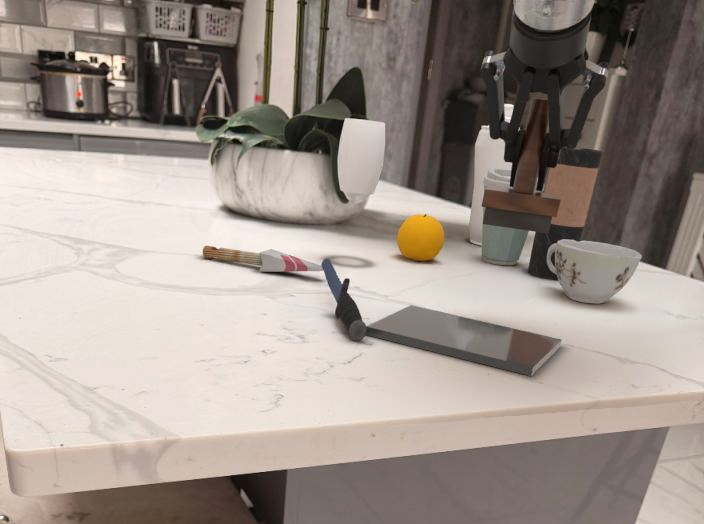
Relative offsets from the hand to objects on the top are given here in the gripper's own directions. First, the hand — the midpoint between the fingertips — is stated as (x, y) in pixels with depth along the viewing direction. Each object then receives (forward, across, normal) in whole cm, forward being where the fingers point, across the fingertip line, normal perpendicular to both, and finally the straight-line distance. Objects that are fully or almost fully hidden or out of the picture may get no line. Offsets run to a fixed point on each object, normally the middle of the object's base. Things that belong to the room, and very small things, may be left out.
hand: (528, 179), depth 95 cm
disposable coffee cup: (+40, -5, +16) cm, 44 cm away
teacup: (+27, +10, +3) cm, 29 cm away
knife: (+1, -18, -20) cm, 27 cm away
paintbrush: (+14, -36, -11) cm, 40 cm away
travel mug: (+37, +4, +13) cm, 39 cm away
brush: (+1, 0, -6) cm, 6 cm away
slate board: (+1, -2, -23) cm, 23 cm away
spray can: (+54, -10, +29) cm, 62 cm away
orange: (+33, -18, +9) cm, 39 cm away
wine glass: (+25, -27, 0) cm, 37 cm away
